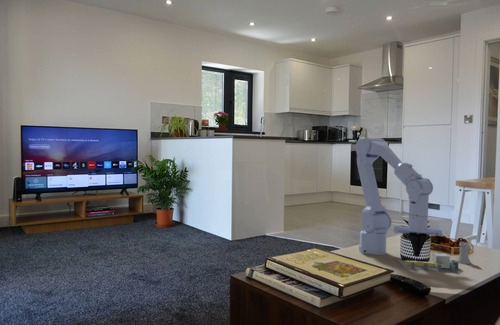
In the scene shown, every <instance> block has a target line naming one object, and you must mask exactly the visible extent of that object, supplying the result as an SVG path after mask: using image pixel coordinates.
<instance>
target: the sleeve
mask: <svg viewBox="0 0 500 325" xmlns="http://www.w3.org/2000/svg"><path fill="white" fill-rule="evenodd" d="M450 261H451V256H450V255H449V254H447V253H444V252H443V253H442V252H441V253H438V252H432V262H435V267H437V265H438V264H441V268H450Z"/></svg>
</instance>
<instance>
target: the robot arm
mask: <svg viewBox="0 0 500 325" xmlns="http://www.w3.org/2000/svg"><path fill="white" fill-rule="evenodd" d="M354 145H355V146H354V147H355V153H356V165H357V169H358V174H359V179H360V183H361V184H360V185H361V188H362V189H361V190H362V193H363V194H362V195H363V198H364V203H365V207H364V209H363V210H362V211H361V216H362V218H361V226H362V228H363V230H360V232H359V246H358V249H359V251H360V254H364V255H365V254H367V255H368V254H369V255H378V256H382V255H383V256H384V255H386V254H387V233H388V232H389V229H390V228H391V226H392V217H391V216H390V214H389V213H388V209H387V208H386V207H385V206H384V205H383V204H382V203H381V202H382V201H381V197H380V192H379V188H378V184H377V180H376V175H375V170H374V166H373V163H375V161H376V160H377V159H379V157H381V158H382V160H384V161H385V162H386V163H387V164H388V165H390V167H392V168H393V169H394V172H393V174H394V175H395V176H396V178H397V179H399V180H400V181H401V183H403V185H404V186H405V190H406V193H407V196H408V200H409V205H408V223H407V224H408V225H405V226H403V225H402V226H399V225H396V226H393V232H394V234H407V236H408V239H409V241H410V244H411V246H412V247H411V248H412V252H413V253H412V254H413V256H414V257H418V258H419V257H420V255H421V252H422V249H423V247H424V245H425V244H426V242H427V240H428V236H438V237H442V236H443V230H442V229H440V228H433V227H428V223H429V222H428V219H429V218H428V216H429V196H430V195H431V194H432V193H433V190H434V186H433V183H432V182H431V180H430V179H429V178H425V177H422V174H420V173H418V172H417V170H415V169H414V168H413V165H412V163H408V162H403V161H402V160H401V159H400V158H399V157H398V156H397V154H395V152H394V151H393V150H392V149H391V148H390V146H389V143H388V142H387V141H386V140H385V139H384V138H382V137H366V136H362V137H360V138H359V139H358V140H357V141H356V144H354Z"/></svg>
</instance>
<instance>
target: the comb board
mask: <svg viewBox="0 0 500 325" xmlns="http://www.w3.org/2000/svg"><path fill="white" fill-rule="evenodd" d="M397 261H398V262H399V264H400V265H401V266H402V267H403V269H404V270H415V271H428V272H429V271H430V272H440V273H441V272H443V273H445V272H446V273H457V274H463V272H462V271H461V270H460V269H459V263H458V262H457V259H456V260H455V259H450V268H441V264H438V265H437V267H435V262H433V261H420V260H419V261H418V260H407V259H404V260H402V259H398V260H397Z"/></svg>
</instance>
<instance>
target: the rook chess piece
mask: <svg viewBox="0 0 500 325" xmlns="http://www.w3.org/2000/svg"><path fill="white" fill-rule="evenodd" d="M458 246H459V256H458V257H457V258H456V261H457V262H458V264H464V265H470V264H471V263H472V262H471V260H470V258H469V248H470V244H469V242H467V241H465V242H464V241H460V242H459V244H458Z"/></svg>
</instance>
